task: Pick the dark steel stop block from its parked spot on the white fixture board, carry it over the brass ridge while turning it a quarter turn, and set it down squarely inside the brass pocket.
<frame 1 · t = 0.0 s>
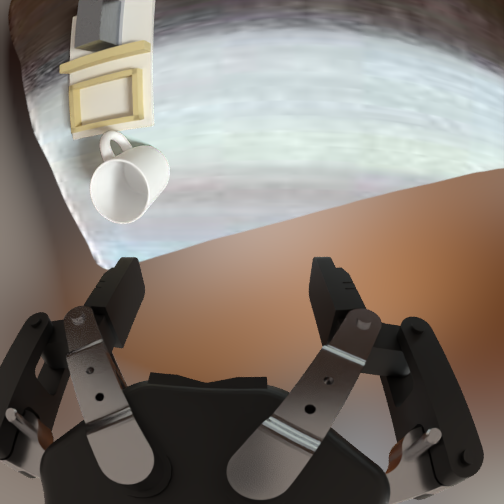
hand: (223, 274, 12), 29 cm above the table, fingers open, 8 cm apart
stop block: (107, 26, 25), point 1 cm above the table, touching white fixture board
mug: (140, 159, 38), on the table
white fixture board: (109, 64, 29), on the table
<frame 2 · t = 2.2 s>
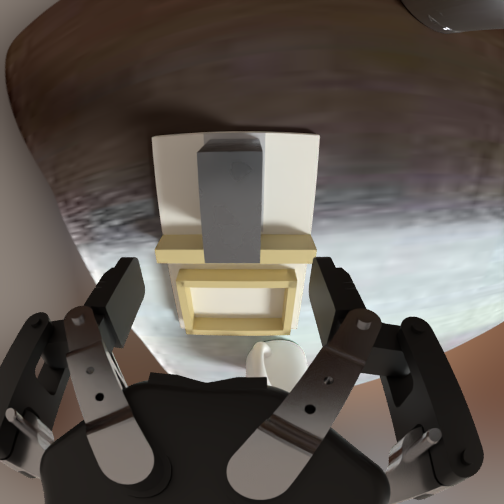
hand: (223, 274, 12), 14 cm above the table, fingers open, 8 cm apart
stop block: (234, 184, 23), point 1 cm above the table, touching white fixture board
mug: (271, 348, 36), on the table
white fixture board: (236, 244, 27), on the table
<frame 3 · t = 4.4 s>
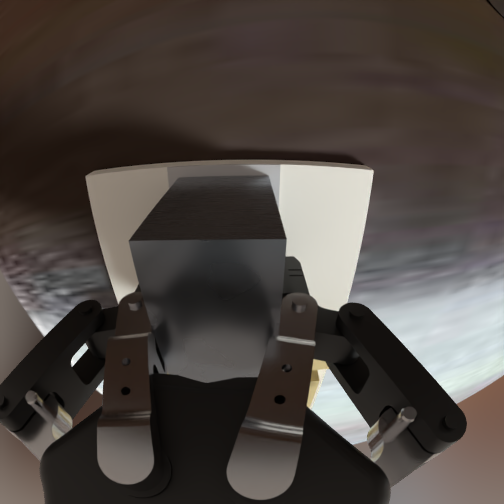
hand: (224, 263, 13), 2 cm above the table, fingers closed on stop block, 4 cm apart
stop block: (226, 254, 14), point 1 cm above the table, touching white fixture board, gripper
white fixture board: (232, 329, 18), on the table
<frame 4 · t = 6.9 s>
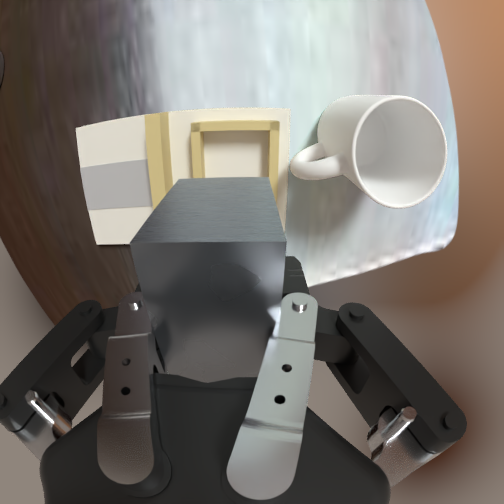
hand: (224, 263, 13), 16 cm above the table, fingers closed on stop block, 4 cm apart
stop block: (226, 255, 14), point 15 cm above the table, touching gripper
mug: (337, 138, 25), on the table
white fixture board: (178, 178, 27), on the table
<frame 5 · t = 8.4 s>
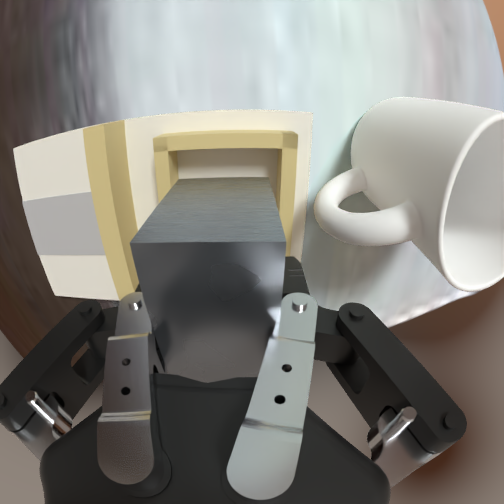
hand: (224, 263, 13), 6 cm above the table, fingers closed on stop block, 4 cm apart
stop block: (226, 255, 14), point 5 cm above the table, touching gripper
mug: (376, 159, 17), on the table
white fixture board: (145, 216, 19), on the table
when the fingers open (4 cm above the table, at t = 9.7 s): stop block drops 2 cm, resting on white fixture board.
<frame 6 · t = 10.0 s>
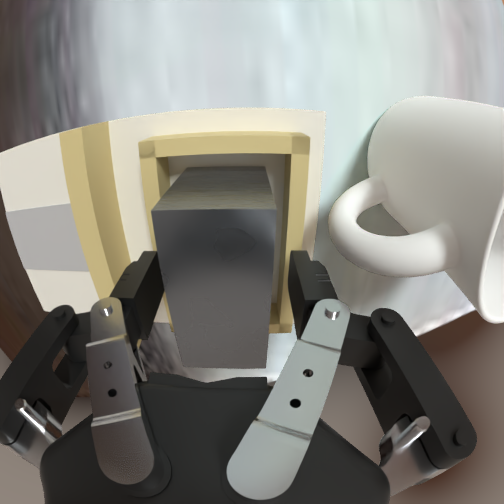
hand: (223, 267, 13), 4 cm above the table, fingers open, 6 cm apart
stop block: (227, 236, 16), point 1 cm above the table, touching white fixture board
mug: (394, 165, 15), on the table
white fixture board: (135, 229, 16), on the table
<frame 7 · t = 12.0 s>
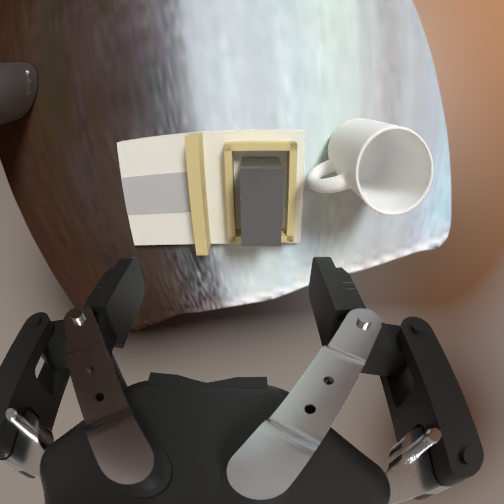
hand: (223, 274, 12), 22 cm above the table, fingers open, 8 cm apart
stop block: (260, 190, 32), point 1 cm above the table, touching white fixture board
mug: (344, 154, 30), on the table
white fixture board: (210, 188, 33), on the table
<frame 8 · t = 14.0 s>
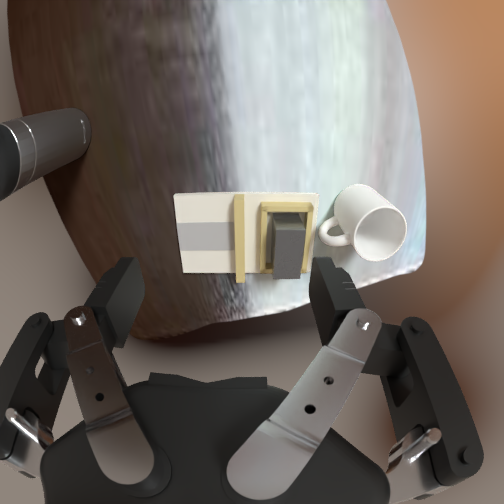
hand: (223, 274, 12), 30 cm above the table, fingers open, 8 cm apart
stop block: (284, 236, 44), point 1 cm above the table, touching white fixture board
mug: (345, 209, 43), on the table
white fixture board: (246, 233, 45), on the table
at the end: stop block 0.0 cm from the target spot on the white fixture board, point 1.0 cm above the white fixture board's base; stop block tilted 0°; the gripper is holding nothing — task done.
